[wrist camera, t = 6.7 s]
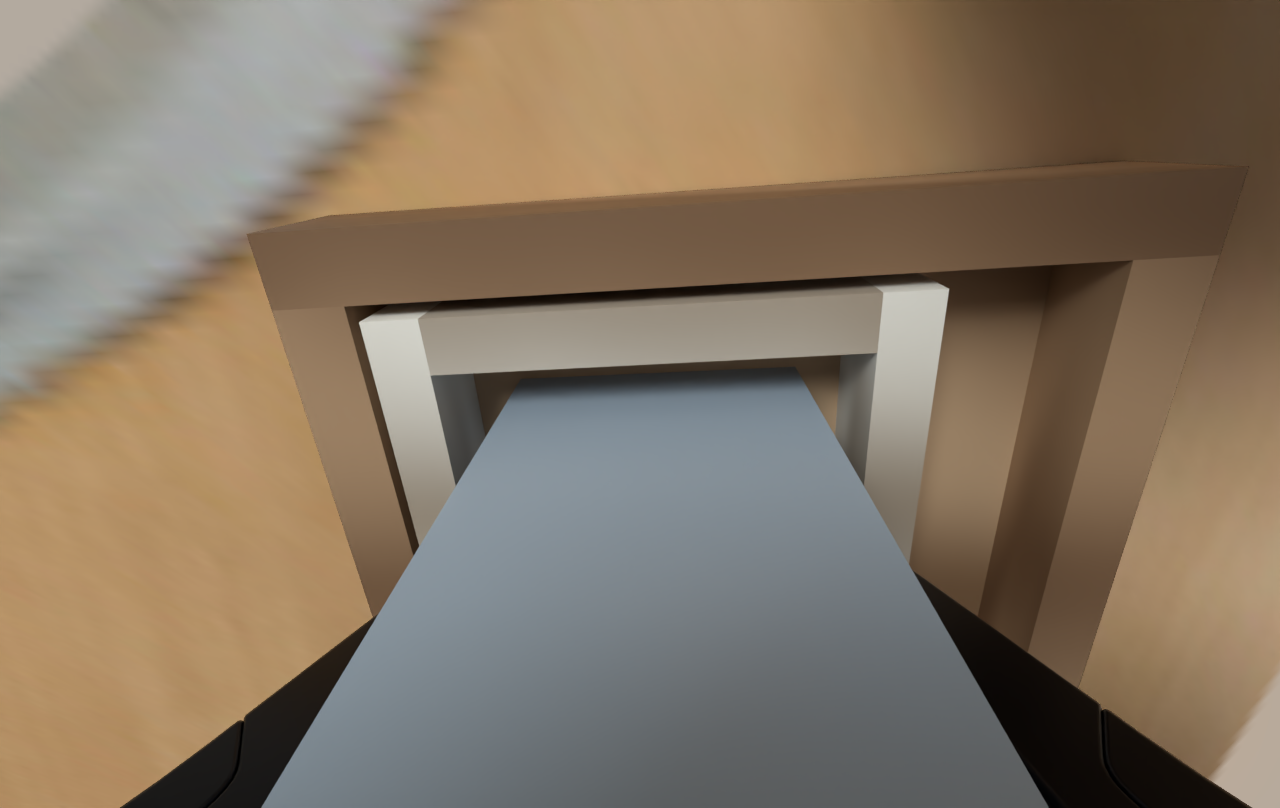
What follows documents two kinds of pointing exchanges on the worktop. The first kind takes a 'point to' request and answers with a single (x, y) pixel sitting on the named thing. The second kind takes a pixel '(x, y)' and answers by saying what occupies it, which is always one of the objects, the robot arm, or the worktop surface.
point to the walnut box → (791, 349)
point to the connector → (658, 625)
